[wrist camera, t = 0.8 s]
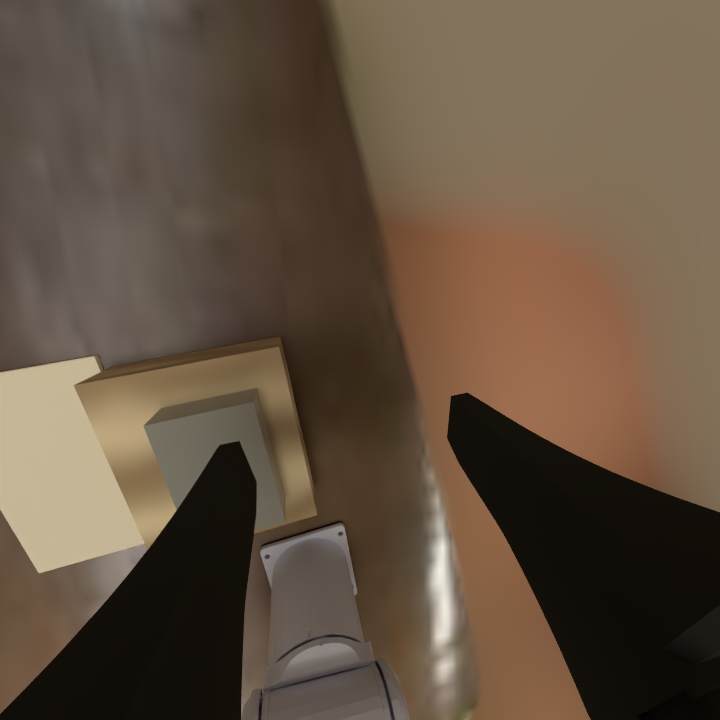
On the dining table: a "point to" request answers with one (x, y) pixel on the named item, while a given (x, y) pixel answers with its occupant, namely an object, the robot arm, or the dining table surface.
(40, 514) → the placemat
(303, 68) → the dining table surface
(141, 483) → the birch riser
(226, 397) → the slate tile
